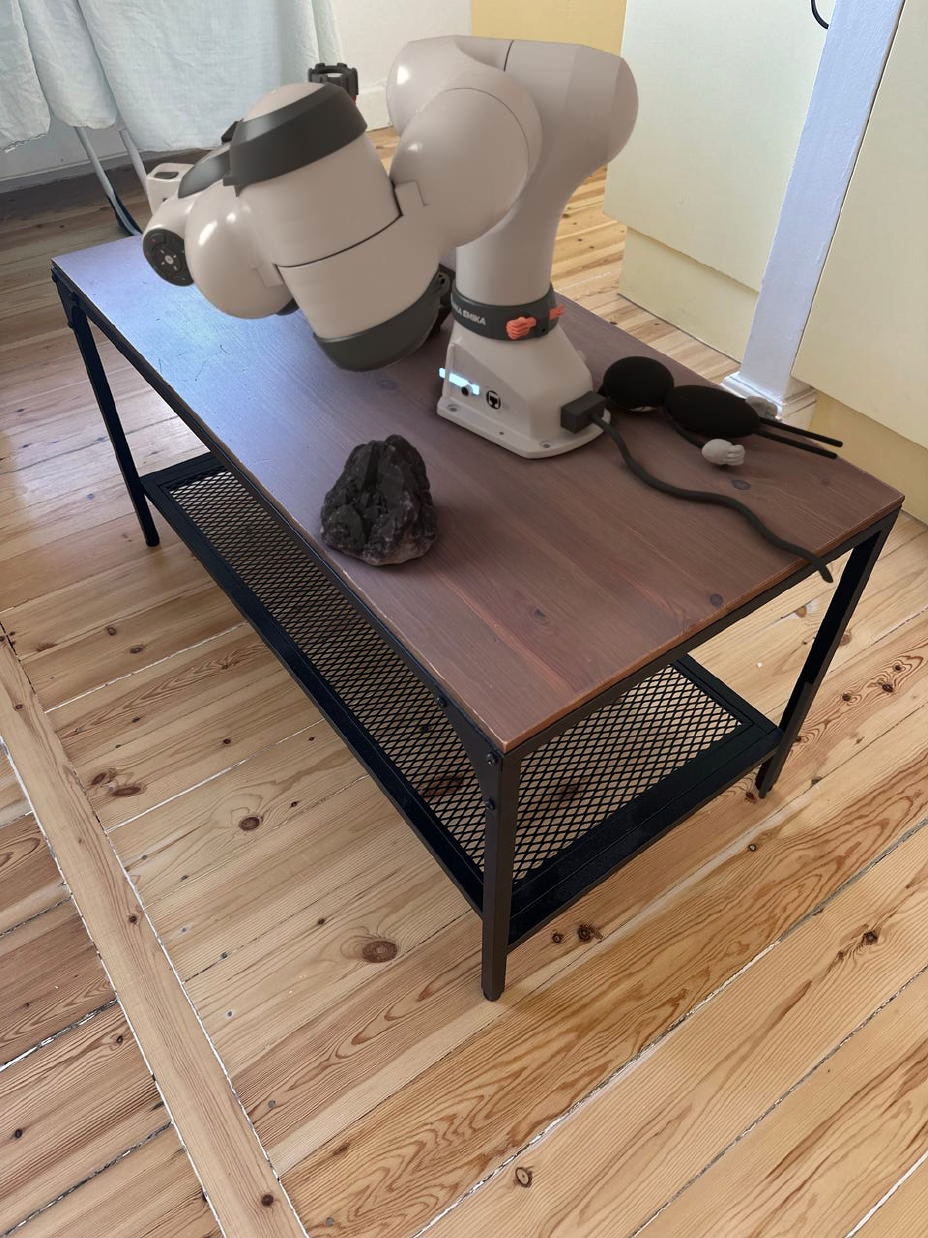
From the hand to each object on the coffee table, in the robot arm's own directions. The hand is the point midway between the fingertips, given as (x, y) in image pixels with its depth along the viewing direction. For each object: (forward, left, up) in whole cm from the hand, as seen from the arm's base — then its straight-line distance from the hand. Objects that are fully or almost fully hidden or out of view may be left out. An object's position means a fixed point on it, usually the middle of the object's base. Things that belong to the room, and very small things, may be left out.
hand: (248, 167), depth 126 cm
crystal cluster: (-57, +18, -18) cm, 62 cm away
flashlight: (+14, -22, -17) cm, 31 cm away
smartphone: (-15, -21, -17) cm, 31 cm away
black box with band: (0, -1, -5) cm, 5 cm away
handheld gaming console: (-25, -7, -17) cm, 31 cm away
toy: (-81, -28, -14) cm, 87 cm away
